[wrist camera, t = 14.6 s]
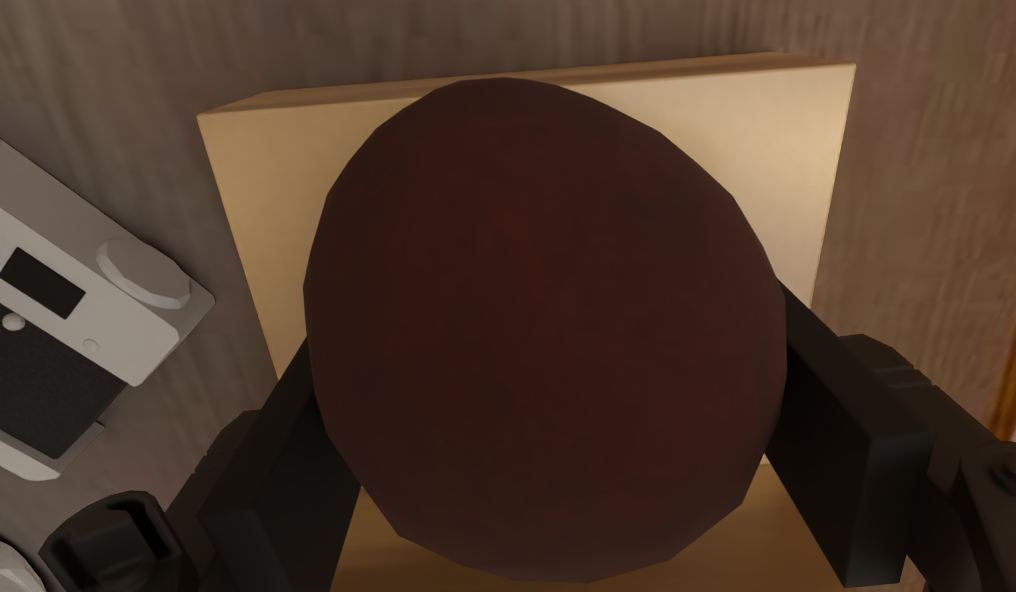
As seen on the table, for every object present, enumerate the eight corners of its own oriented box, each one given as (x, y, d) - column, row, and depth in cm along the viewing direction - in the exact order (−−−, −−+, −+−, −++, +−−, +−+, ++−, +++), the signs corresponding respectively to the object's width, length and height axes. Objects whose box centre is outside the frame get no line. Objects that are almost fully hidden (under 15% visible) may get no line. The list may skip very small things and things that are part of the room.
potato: (781, -131, 7) (679, 503, 3) (812, 320, 13) (796, 711, 9) (321, 32, 11) (12, 375, 7) (513, 313, 17) (411, 579, 13)
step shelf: (264, 91, 16) (-266, 264, 5) (775, 51, 15) (1428, 141, 4) (387, 574, 25) (296, 1009, 14) (709, 556, 24) (874, 988, 13)
